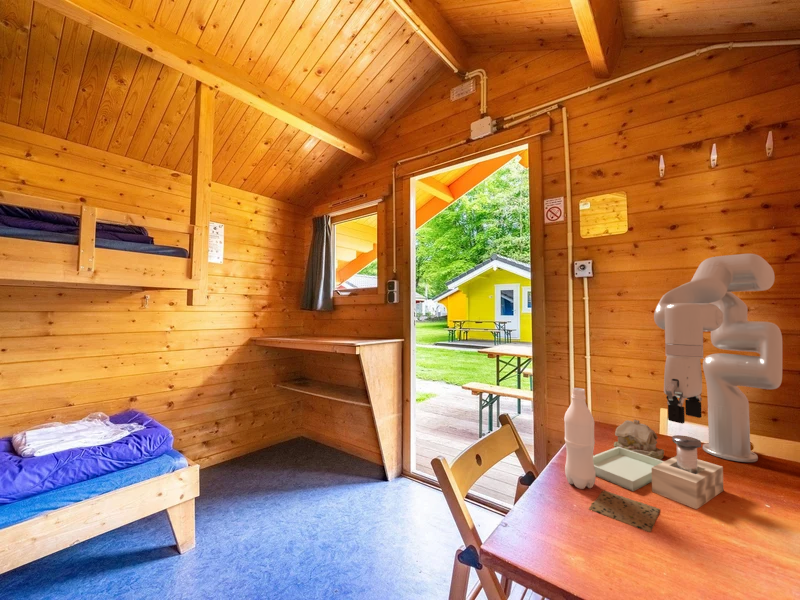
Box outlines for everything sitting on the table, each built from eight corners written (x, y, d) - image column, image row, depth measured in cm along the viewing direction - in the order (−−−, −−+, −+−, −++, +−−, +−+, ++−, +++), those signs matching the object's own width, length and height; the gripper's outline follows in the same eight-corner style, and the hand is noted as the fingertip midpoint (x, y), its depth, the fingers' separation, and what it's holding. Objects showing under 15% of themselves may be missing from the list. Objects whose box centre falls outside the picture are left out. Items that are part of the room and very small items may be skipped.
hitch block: (680, 475, 95) (680, 453, 95) (723, 490, 87) (722, 466, 88) (652, 491, 87) (651, 467, 87) (696, 509, 79) (695, 482, 80)
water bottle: (600, 492, 87) (598, 392, 87) (569, 489, 88) (567, 391, 89) (590, 478, 94) (588, 386, 94) (562, 476, 95) (560, 385, 96)
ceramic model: (605, 447, 116) (605, 417, 116) (625, 440, 121) (624, 412, 121) (652, 463, 103) (651, 429, 104) (671, 455, 109) (670, 423, 109)
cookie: (661, 510, 80) (661, 506, 80) (650, 535, 71) (650, 530, 71) (603, 491, 88) (603, 487, 88) (587, 511, 80) (587, 507, 80)
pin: (679, 483, 91) (678, 433, 91) (706, 493, 86) (704, 440, 87) (669, 489, 88) (668, 437, 89) (696, 499, 83) (695, 445, 84)
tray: (617, 454, 109) (617, 446, 110) (670, 472, 97) (669, 463, 97) (580, 469, 99) (580, 460, 99) (633, 491, 87) (632, 481, 87)
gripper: (681, 348, 96) (682, 410, 95) (650, 351, 87) (651, 420, 86) (716, 351, 89) (717, 418, 89) (686, 354, 81) (688, 428, 80)
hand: (685, 419), depth 87 cm, fingers open, 9 cm apart
